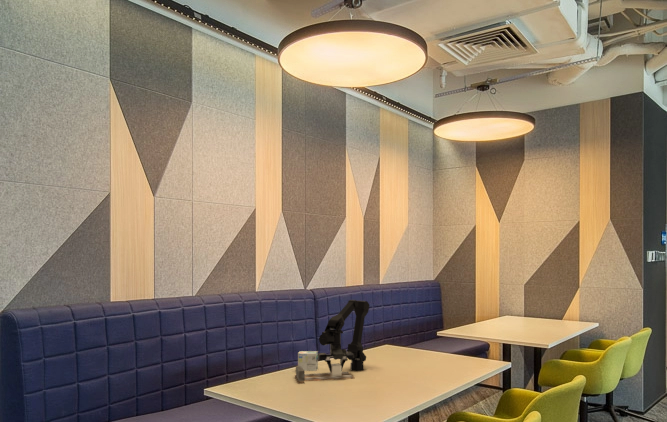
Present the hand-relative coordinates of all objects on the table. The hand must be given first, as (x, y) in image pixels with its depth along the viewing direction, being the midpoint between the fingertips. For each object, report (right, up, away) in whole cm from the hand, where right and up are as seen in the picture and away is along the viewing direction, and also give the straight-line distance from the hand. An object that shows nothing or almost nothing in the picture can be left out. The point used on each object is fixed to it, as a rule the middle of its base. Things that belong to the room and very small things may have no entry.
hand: (335, 372), depth 276 cm
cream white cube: (0, -2, 0) cm, 2 cm away
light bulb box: (-16, -5, +16) cm, 23 cm away
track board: (-6, -3, -1) cm, 7 cm away
